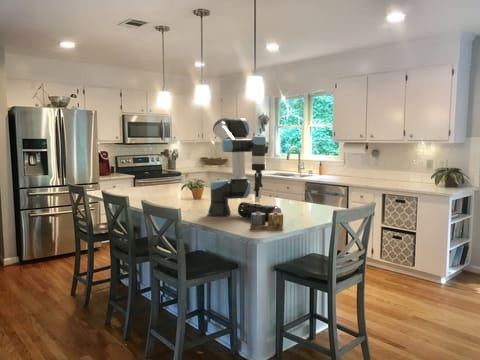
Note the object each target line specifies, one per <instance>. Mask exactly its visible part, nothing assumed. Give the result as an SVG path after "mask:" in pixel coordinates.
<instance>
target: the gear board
mask: <svg viewBox="0 0 480 360" xmlns="http://www.w3.org/2000/svg"><path fill="white" fill-rule="evenodd" d="M257 214H260V212H257ZM283 227H284V213H282V212H281V213H277V212H274V213H270V214H268V222H267V221H266V224H265V225H261V226H259V225H256V226H255V225H251V224H250V230H257V231H259V230H264V231H283V229H284V228H283Z"/></svg>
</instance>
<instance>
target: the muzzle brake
mask: <svg viewBox="0 0 480 360" xmlns="http://www.w3.org/2000/svg"><path fill="white" fill-rule="evenodd" d="M255 212H260V213H265V214H266V222H268V214H270V213H274V212H277V213H282V209H281V207H278V206H277V205H267V204H260V203H253V202H245V201H242V202H240V203H239V204H238V207H237V213H238V215H239V216H241V218H243V219H250V220H251V213H255Z"/></svg>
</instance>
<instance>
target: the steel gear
mask: <svg viewBox="0 0 480 360" xmlns="http://www.w3.org/2000/svg"><path fill="white" fill-rule="evenodd" d="M266 222H267V221H266V214H265V213H260V214H257V212H255V213H251V219H250V226H251V225H255V226H256V225H259V226H261V225H265V224H266Z"/></svg>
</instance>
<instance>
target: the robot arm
mask: <svg viewBox="0 0 480 360" xmlns="http://www.w3.org/2000/svg"><path fill="white" fill-rule="evenodd" d="M212 126H213V127H212V131H213V134H214V135H215V136H216V137H218V138H219V139H220V141H221V150H222V152H223V153H231V164H232V166H231V169H232V177H230V178H229V179H230V181H229V180H228V179H218V180H214V181H211V183H210V189H209V190H210V204H209V207H208V208H209V209H208V211H207V212H208V213H207V215H208V216H210V217H217V218H219V217H228V216H229V217H230V216H231V213H232V211H231V209H230V205H229V200H230V199H231V200H232V199H235V200H237V199H246V198H248V197H249V195H250V194H251V187H252V186H251V182H250V181H249V180H248V177H247V176H246V162H245V161H246V160H245V159H246V157H245V156H246V155H245V154H246V153H251V171H255V173H254V188H253V192H254V203H257V204H260V199H262V188H263V187H264V186H263V184H262V179H263V177H262V176H263V173H262V172H263V171H266V164H265V163H266V160H267V157H266V137H265V135H253V136H252V137H251V138H247V136H249V135H250V126H249V122H248V120H247V119H246V118H240V117H237V118H235V117H232V118H230V117H229V118H228V117H227V118H226V117H223V118H220V119H218V120H217V121H216V122H214V124H213V125H212Z"/></svg>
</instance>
